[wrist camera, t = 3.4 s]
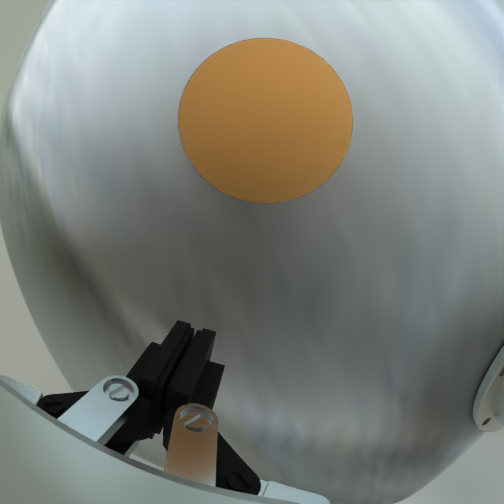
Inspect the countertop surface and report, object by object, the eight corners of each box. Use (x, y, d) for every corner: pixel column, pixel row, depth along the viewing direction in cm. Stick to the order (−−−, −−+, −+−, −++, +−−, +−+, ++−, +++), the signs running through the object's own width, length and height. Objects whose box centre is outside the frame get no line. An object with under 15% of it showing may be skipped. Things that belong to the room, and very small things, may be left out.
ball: (348, 93, 10) (389, 37, 5) (317, 213, 12) (341, 241, 6) (224, 64, 11) (183, -1, 5) (192, 180, 12) (125, 183, 7)
